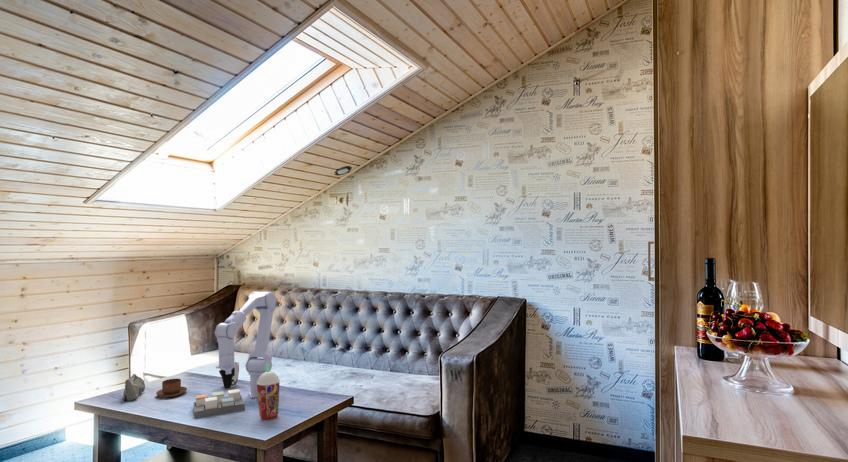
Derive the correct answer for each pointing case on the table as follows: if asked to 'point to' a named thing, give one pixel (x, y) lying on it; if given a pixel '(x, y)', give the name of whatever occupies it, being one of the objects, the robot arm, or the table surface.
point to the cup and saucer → (171, 388)
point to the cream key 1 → (210, 403)
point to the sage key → (218, 396)
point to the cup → (235, 376)
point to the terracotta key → (201, 399)
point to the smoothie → (268, 395)
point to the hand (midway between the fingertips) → (227, 388)
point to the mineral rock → (133, 388)
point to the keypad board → (218, 408)
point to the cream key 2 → (234, 394)
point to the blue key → (227, 402)
